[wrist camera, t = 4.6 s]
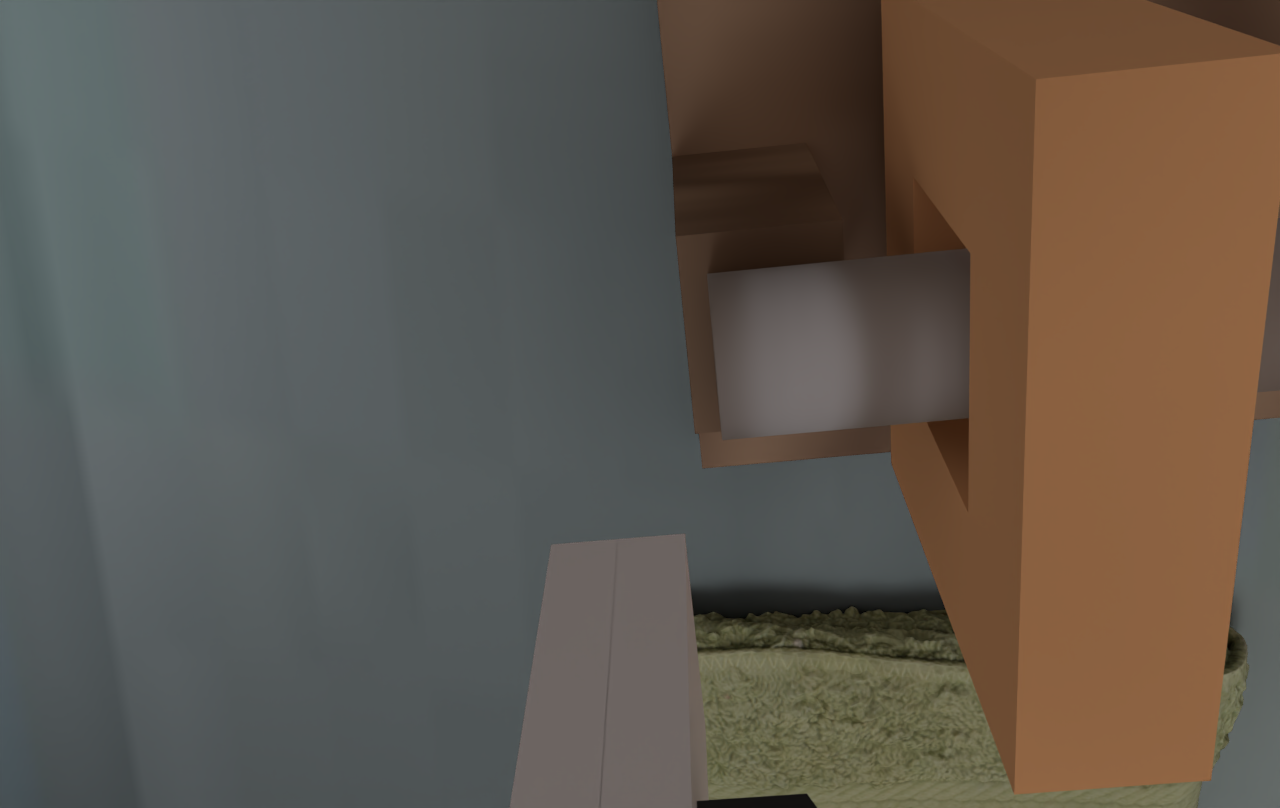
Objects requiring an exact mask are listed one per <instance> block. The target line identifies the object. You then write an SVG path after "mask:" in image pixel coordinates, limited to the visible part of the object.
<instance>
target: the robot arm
mask: <svg viewBox="0 0 1280 808" xmlns="http://www.w3.org/2000/svg"><path fill="white" fill-rule="evenodd" d="M510 808H817V807H816V805H815V804H814V803H813V801H812V800H811V798H810V797H809V796H808V794H792V795H777V796H762V797H747V798H732V799H717V800H709V799H708V776H707V752H706V729H705V718H704V709H703V699H702V690H701V681H700V671H699V662H698V653H697V643H696V634H695V625H694V615H693V606H692V597H691V587H690V578H689V569H688V559H687V550H686V541H685V534H675V535H662V536H650V537H638V538H625V539H613V540H601V541H589V542H576V543H564V544H552V545H551V549H550V556H549V562H548V568H547V575H546V581H545V587H544V594H543V600H542V606H541V613H540V619H539V625H538V632H537V638H536V644H535V651H534V657H533V663H532V670H531V676H530V682H529V689H528V695H527V701H526V708H525V714H524V720H523V727H522V733H521V739H520V746H519V752H518V758H517V764H516V771H515V777H514V783H513V790H512V796H511V802H510Z"/></svg>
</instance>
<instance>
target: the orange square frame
mask: <svg viewBox="0 0 1280 808" xmlns="http://www.w3.org/2000/svg"><path fill="white" fill-rule="evenodd" d="M881 17H882V62H883V107H884V152H885V197H886V242H887V256H894V255H904V254H914V253H925V252H935V251H945V250H955V249H966V248H967V249H968V251H969V252H970V364H969V418H965V419H954V420H943V421H932V422H921V423H910V424H898V425H891V463H892V466H893V469H894V472H895V474H896V477H897V480H898V482H899V485H900V488H901V490H902V493H903V496H904V499H905V501H906V504H907V507H908V509H909V512H910V515H911V517H912V520H913V523H914V525H915V528H916V531H917V534H918V536H919V539H920V542H921V544H922V547H923V550H924V552H925V555H926V558H927V561H928V563H929V566H930V569H931V571H932V574H933V577H934V579H935V582H936V585H937V587H938V590H939V593H940V596H941V598H942V601H943V604H944V606H945V609H946V612H947V614H948V617H949V620H950V623H951V625H952V628H953V631H954V633H955V636H956V639H957V641H958V644H959V647H960V650H961V652H962V655H963V658H964V660H965V663H966V666H967V668H968V671H969V674H970V676H971V679H972V682H973V685H974V687H975V690H976V693H977V695H978V698H979V701H980V703H981V706H982V709H983V712H984V714H985V717H986V720H987V722H988V725H989V728H990V730H991V733H992V736H993V738H994V741H995V744H996V747H997V749H998V752H999V755H1000V757H1001V760H1002V763H1003V765H1004V768H1005V771H1006V774H1007V776H1008V779H1009V782H1010V784H1011V787H1012V790H1013V792H1014V795H1016V794H1029V793H1043V792H1057V791H1071V790H1085V789H1099V788H1113V787H1127V786H1141V785H1155V784H1169V783H1183V782H1197V781H1211V776H1212V767H1213V759H1214V750H1215V742H1216V734H1217V725H1218V717H1219V708H1220V700H1221V691H1222V683H1223V675H1224V666H1225V658H1226V649H1227V641H1228V633H1229V624H1230V616H1231V607H1232V599H1233V591H1234V582H1235V574H1236V565H1237V557H1238V548H1239V540H1240V532H1241V523H1242V515H1243V506H1244V498H1245V490H1246V481H1247V473H1248V464H1249V456H1250V448H1251V439H1252V431H1253V422H1254V414H1255V405H1256V397H1257V389H1258V380H1259V372H1260V363H1261V355H1262V347H1263V338H1264V330H1265V321H1266V313H1267V305H1268V296H1269V288H1270V279H1271V271H1272V262H1273V254H1274V246H1275V237H1276V229H1277V220H1278V212H1279V204H1280V46H1279V45H1276V44H1273V43H1270V42H1267V41H1264V40H1262V39H1259V38H1256V37H1253V36H1250V35H1247V34H1244V33H1241V32H1238V31H1235V30H1232V29H1229V28H1226V27H1223V26H1220V25H1218V24H1215V23H1212V22H1209V21H1206V20H1203V19H1200V18H1197V17H1194V16H1191V15H1188V14H1185V13H1182V12H1179V11H1177V10H1174V9H1171V8H1168V7H1165V6H1162V5H1159V4H1156V3H1153V2H1150V1H1147V0H881Z"/></svg>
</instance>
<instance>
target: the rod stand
mask: <svg viewBox="0 0 1280 808" xmlns="http://www.w3.org/2000/svg"><path fill="white" fill-rule="evenodd" d="M1147 1H1150V2H1153V3H1156V4H1159V5H1162V6H1165V7H1168V8H1171V9H1174V10H1177V11H1179V12H1182V13H1185V14H1188V15H1191V16H1194V17H1197V18H1200V19H1203V20H1206V21H1209V22H1212V23H1215V24H1218V25H1220V26H1223V27H1226V28H1229V29H1232V30H1235V31H1238V32H1241V33H1244V34H1247V35H1250V36H1253V37H1256V38H1259V39H1262V40H1264V41H1267V42H1270V43H1273V44H1276V45H1279V46H1280V0H1147ZM657 5H658V15H659V26H660V36H661V46H662V57H663V67H664V77H665V88H666V98H667V108H668V119H669V129H670V139H671V149H672V164H673V187H674V209H675V232H676V245H677V255H678V265H679V275H680V285H681V295H682V305H683V316H684V326H685V336H686V346H687V356H688V366H689V376H690V387H691V397H692V407H693V417H694V427H695V434H699V438H700V448H701V459H702V468H713V467H724V466H736V465H747V464H758V463H770V462H781V461H792V460H804V459H815V458H826V457H838V456H849V455H860V454H872V453H883V452H891V425H898V424H910V423H921V422H932V421H943V420H954V419H965V418H969V364H970V252H969V251H968V249H967V248H966V249H955V250H945V251H935V252H925V253H914V254H904V255H894V256H887V242H886V197H885V152H884V107H883V62H882V17H881V0H657ZM1268 418H1280V204H1279V212H1278V220H1277V229H1276V237H1275V246H1274V254H1273V262H1272V271H1271V279H1270V288H1269V296H1268V305H1267V313H1266V321H1265V330H1264V338H1263V347H1262V355H1261V363H1260V372H1259V380H1258V389H1257V397H1256V405H1255V414H1254V420H1257V419H1268Z"/></svg>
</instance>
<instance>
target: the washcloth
mask: <svg viewBox="0 0 1280 808" xmlns="http://www.w3.org/2000/svg"><path fill="white" fill-rule="evenodd" d="M694 625H695V634H696V643H697V653H698V662H699V671H700V681H701V690H702V699H703V709H704V718H705V729H706V752H707V776H708V799H709V800H717V799H732V798H747V797H762V796H777V795H792V794H808V796H809V797H810V798H811V800H812V801H813V803H814V804H815V805H816V807H817V808H1197V806H1198V800H1199V799H1198V797H1199V794H1200V790H1201V785H1202V781H1197V782H1183V783H1169V784H1155V785H1141V786H1127V787H1113V788H1099V789H1085V790H1071V791H1057V792H1043V793H1029V794H1016V795H1014V792H1013V790H1012V787H1011V784H1010V782H1009V779H1008V776H1007V774H1006V771H1005V768H1004V765H1003V763H1002V760H1001V757H1000V755H999V752H998V749H997V747H996V744H995V741H994V738H993V736H992V733H991V730H990V728H989V725H988V722H987V720H986V717H985V714H984V712H983V709H982V706H981V703H980V701H979V698H978V695H977V693H976V690H975V687H974V685H973V682H972V679H971V676H970V674H969V671H968V668H967V666H966V663H965V660H964V658H963V655H962V652H961V650H960V647H959V644H958V641H957V639H956V636H955V633H954V631H953V628H952V625H951V623H950V620H949V617H948V614H947V612H946V609H945V610H934V611H927V610H925V609H922V610H919V611H912V612H910V613H908V614H905V613H900V612H899V613H894V612H883V611H881V610H880V609H878V610H874V611H867V612H864V613H863V614H859V612H858V610H857V609H856V608H855V607H852V606H851V607H850V608H848V609H847V610H845V613H844V614H842V612H841V611H840V610H839V609H837V610H835V611H831V612H830V613H829V614H822V613H821V612H820V611H817V610H814V611H813V613H812V614H811V615H806V614H802V616H801V617H799V618H796V617H795V616H793V615H788V614H784V613H779V612H777V611H775V612H774V613H769V612H766V613H764V614H762V615H760V616H755V615H754V614H753V613H748V616H747V617H746V619H742V618H735V619H730V618H724V617H723V616H722V615H720V614H718V613H716V612H711V613H708V614H706V615H705V614H703V615H701V614H699V615H696V616H694ZM1247 655H1248V653H1247V645H1246V642H1245V640H1244V638H1243V637H1242V636H1241V635H1240V634H1239V633H1237V632H1236V631H1235V630H1234V629H1233V628H1231V627H1229V633H1228V641H1227V649H1226V658H1225V666H1224V675H1223V683H1222V691H1221V700H1220V708H1219V717H1218V725H1217V734H1216V742H1215V750H1214V759H1213V767H1214V765H1215V763H1216V762H1217V760H1218V759H1219V757H1220V750H1222V749H1224V748H1225V747H1226V746H1227V744H1228V743H1229V738H1228V733H1229V732H1231V731H1232V729H1233V724H1234V722H1235V720H1236V718H1237V716H1238V714H1239V712H1240V710H1241V708H1242V705H1243V700H1244V699H1243V696H1242V693H1243V691H1244V690H1246V678H1247V675H1248V670H1249V665H1248V664H1247ZM1213 767H1212V769H1213Z"/></svg>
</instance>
